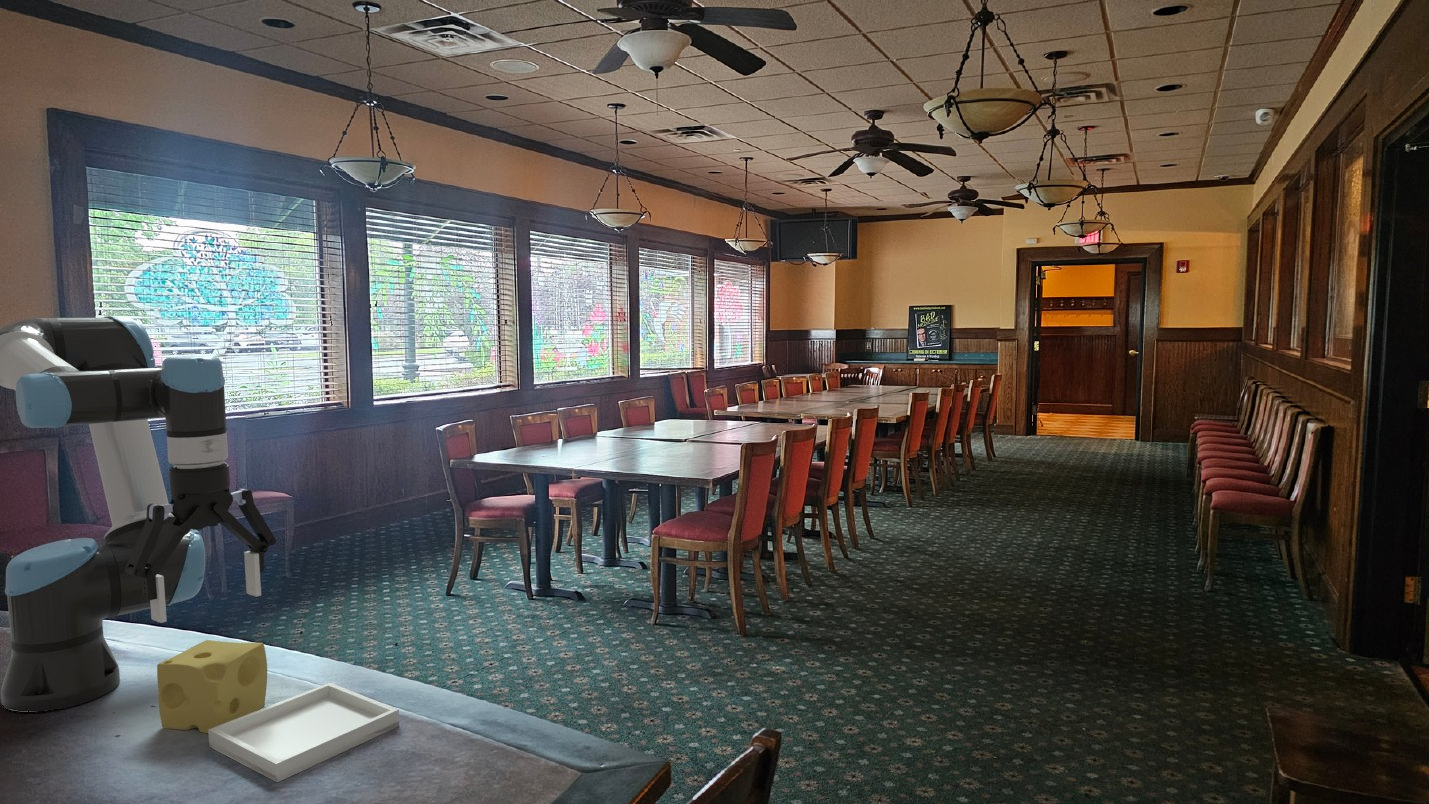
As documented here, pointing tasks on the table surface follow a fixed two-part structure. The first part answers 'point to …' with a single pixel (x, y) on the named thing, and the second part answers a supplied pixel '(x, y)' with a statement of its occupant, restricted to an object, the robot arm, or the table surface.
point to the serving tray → (302, 730)
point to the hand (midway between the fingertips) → (208, 607)
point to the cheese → (211, 684)
